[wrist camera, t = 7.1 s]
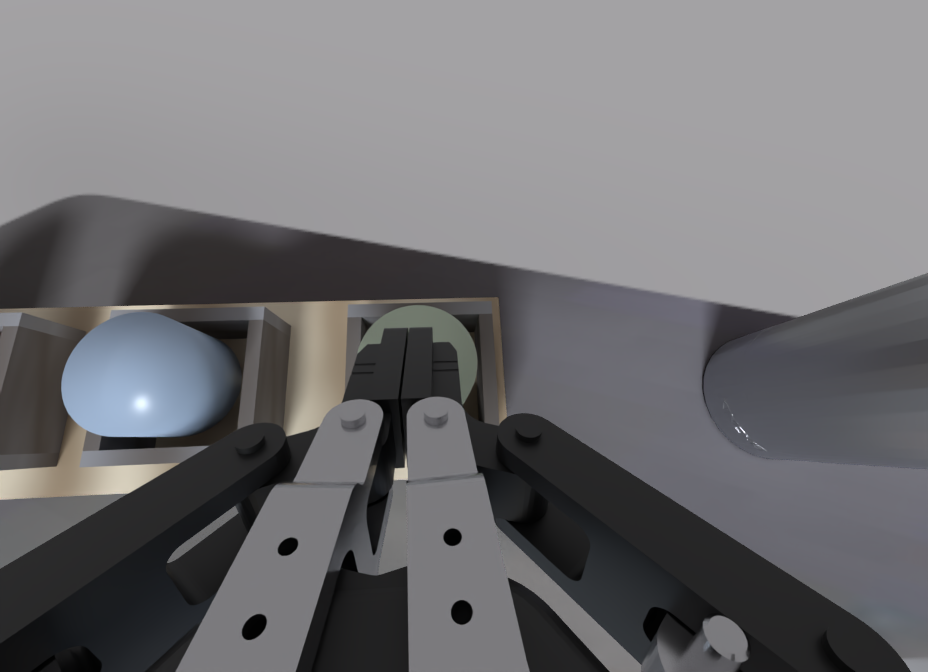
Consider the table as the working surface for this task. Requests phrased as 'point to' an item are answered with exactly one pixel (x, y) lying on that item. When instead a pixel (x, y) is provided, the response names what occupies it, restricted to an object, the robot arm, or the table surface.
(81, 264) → the table surface
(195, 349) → the slate button
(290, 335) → the button console
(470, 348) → the sage button
